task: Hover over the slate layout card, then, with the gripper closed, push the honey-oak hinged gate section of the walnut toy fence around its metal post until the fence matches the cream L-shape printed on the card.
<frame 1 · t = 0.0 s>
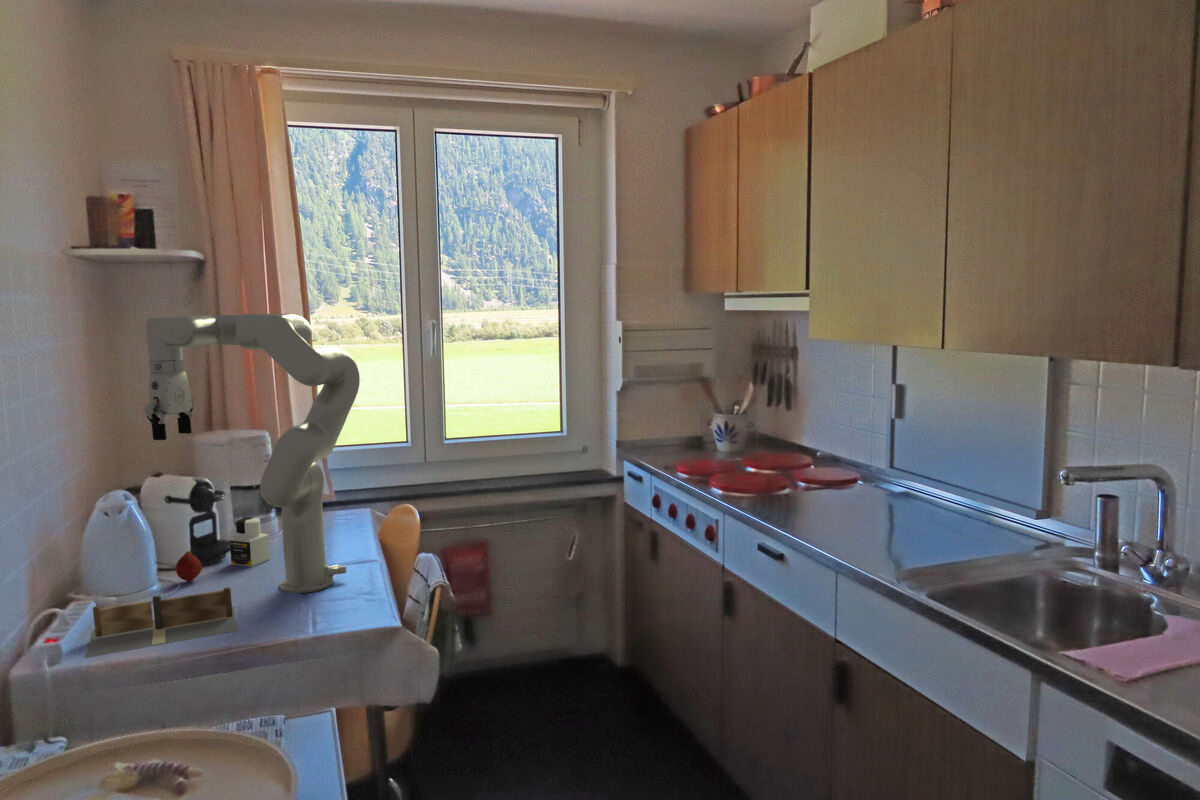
hand: (172, 436, 209), 37 cm above the table, tool pointing down, fingers open, 9 cm apart
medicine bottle: (251, 562, 229), on the table
fence gate: (123, 617, 179), point 4 cm above the table, hinge at 0.0°
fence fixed: (195, 621, 186), resting on layout card
layout card: (164, 632, 181), on the table
onion: (190, 582, 214), on the table
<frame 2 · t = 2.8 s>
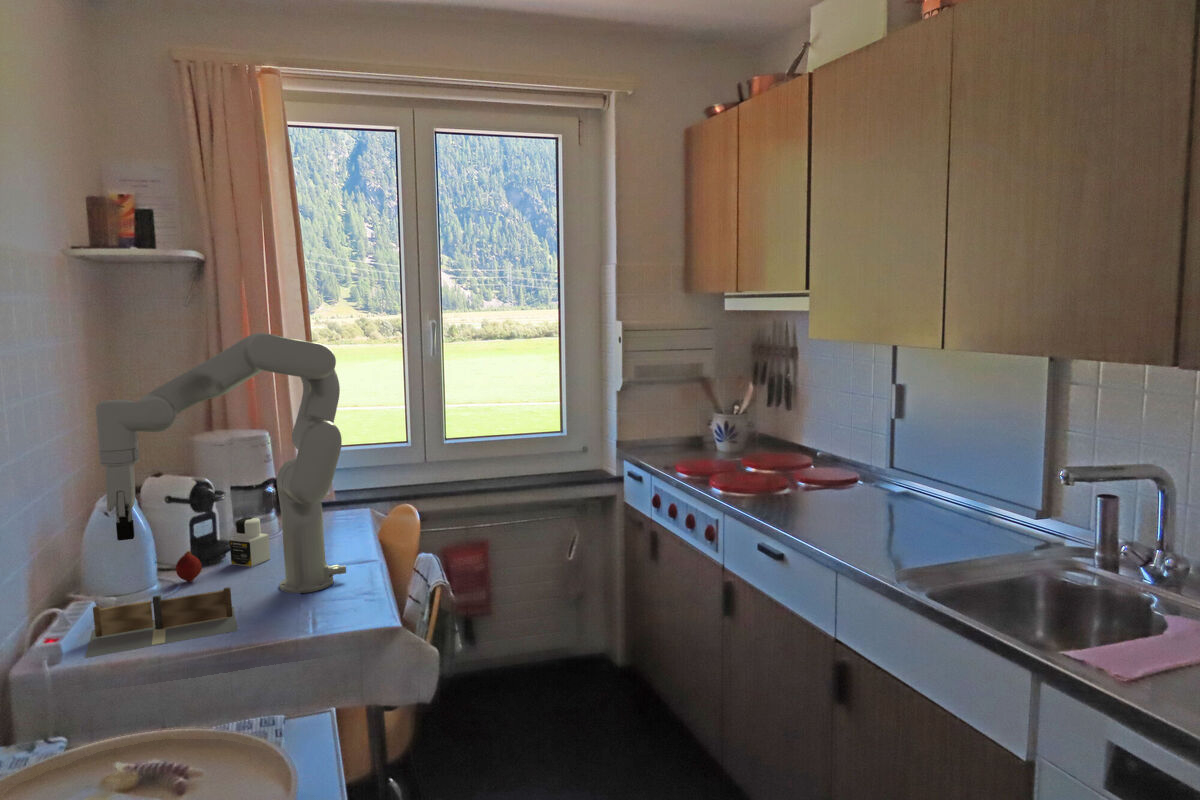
hand: (126, 538, 186), 19 cm above the table, tool pointing down, fingers closed
nothing on the table moved.
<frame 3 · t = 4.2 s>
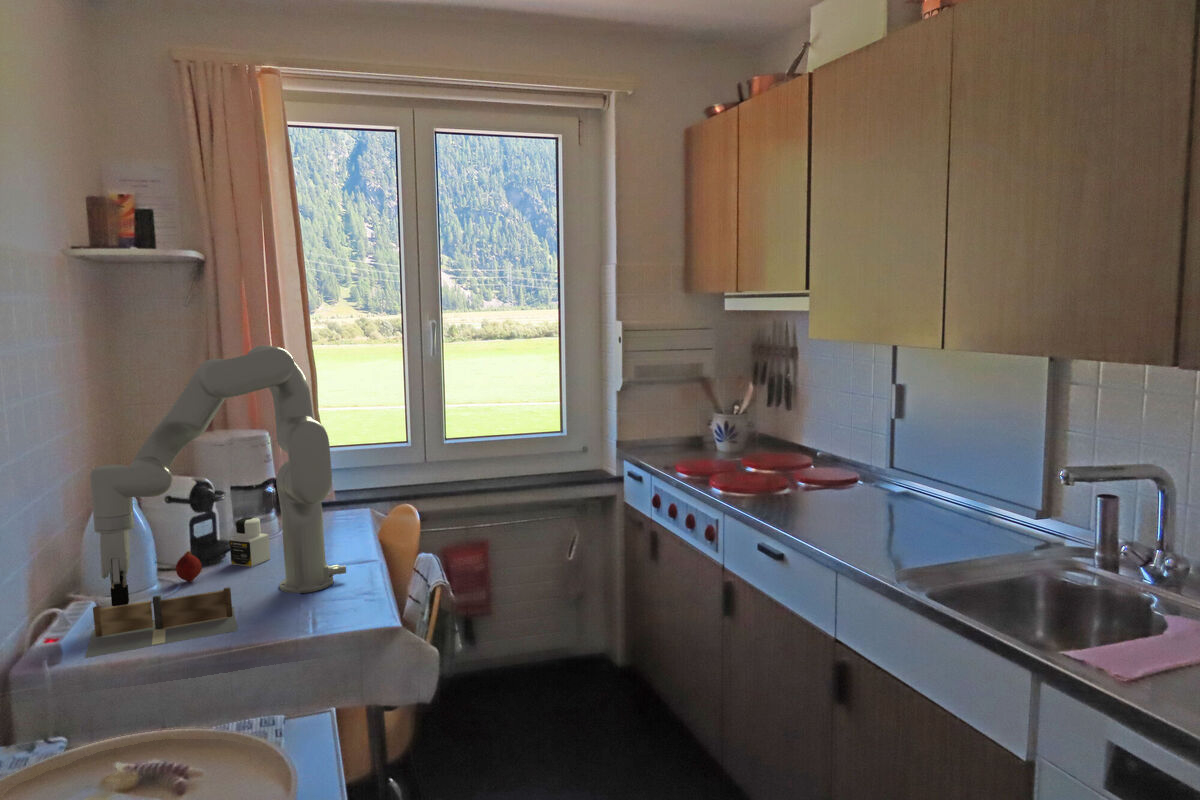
hand: (120, 604, 185), 5 cm above the table, tool pointing down, fingers closed
nothing on the table moved.
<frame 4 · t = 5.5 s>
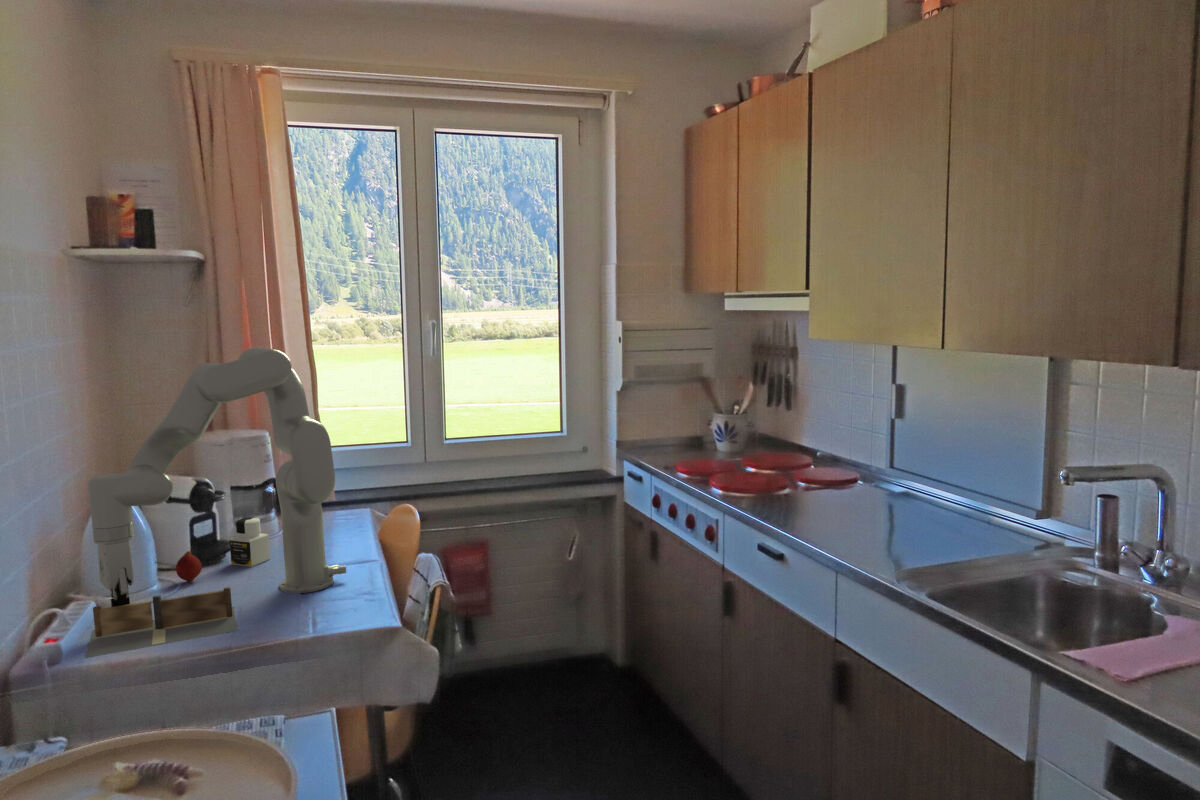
hand: (121, 615, 182), 4 cm above the table, tool pointing down, fingers closed
fence gate: (123, 617, 179), point 4 cm above the table, hinge at 0.0°, touching gripper
everything else where it was.
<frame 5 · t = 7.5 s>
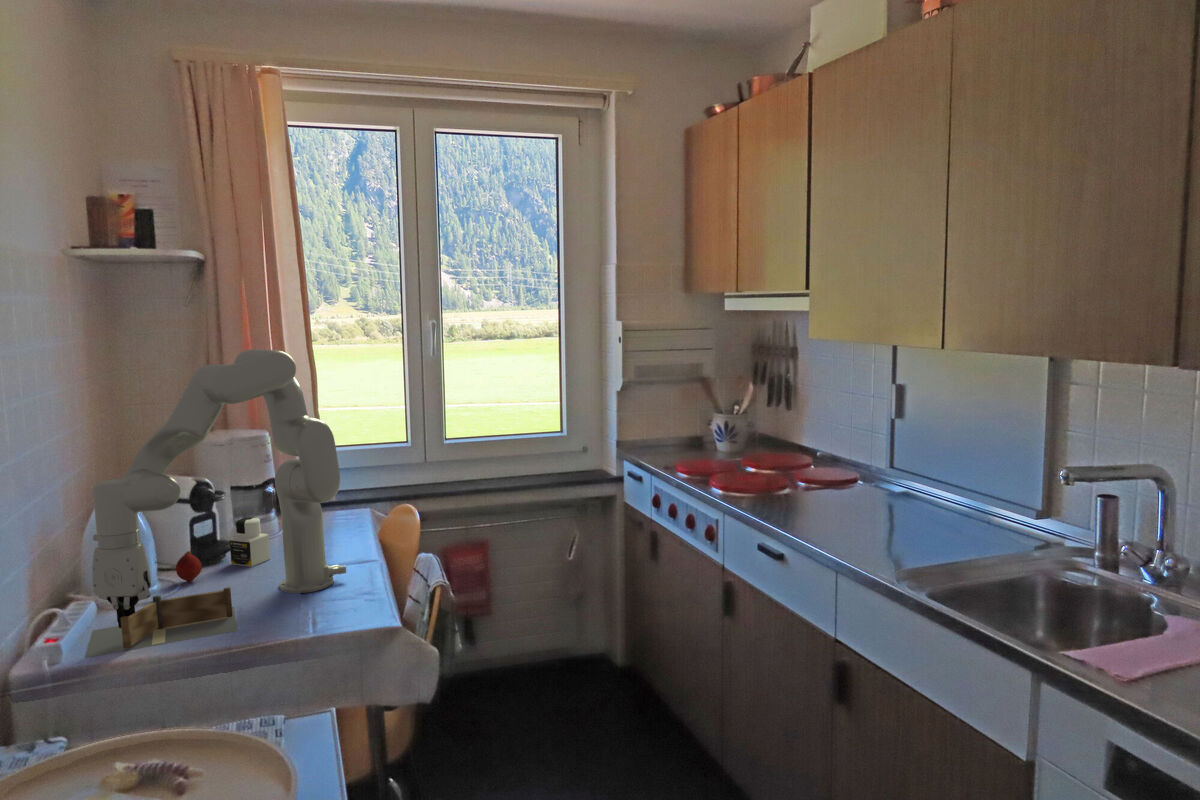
hand: (127, 625, 176), 4 cm above the table, tool pointing down, fingers closed
fence gate: (139, 623, 176), point 4 cm above the table, hinge at 60.3°, touching gripper
everything else where it was.
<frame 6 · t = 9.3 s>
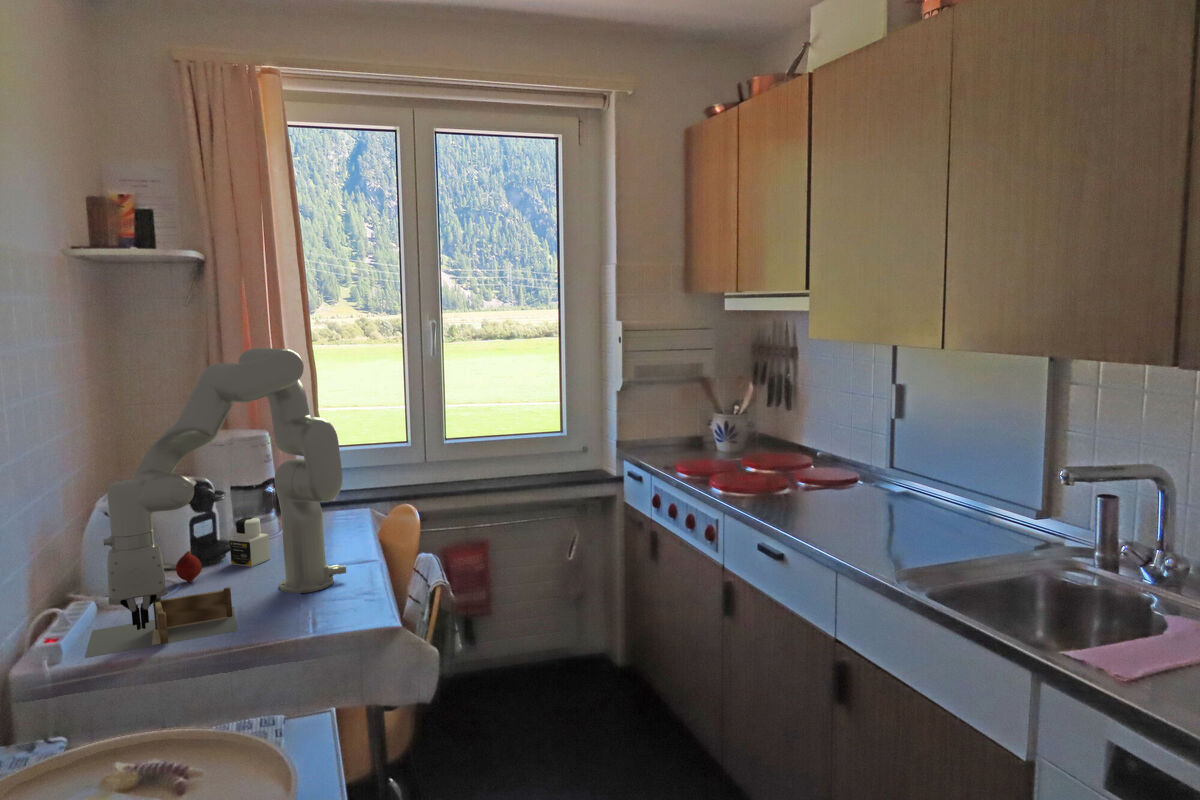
hand: (141, 627, 174), 4 cm above the table, tool pointing down, fingers closed
fence gate: (161, 621, 177), point 4 cm above the table, hinge at 96.2°
everything else where it was.
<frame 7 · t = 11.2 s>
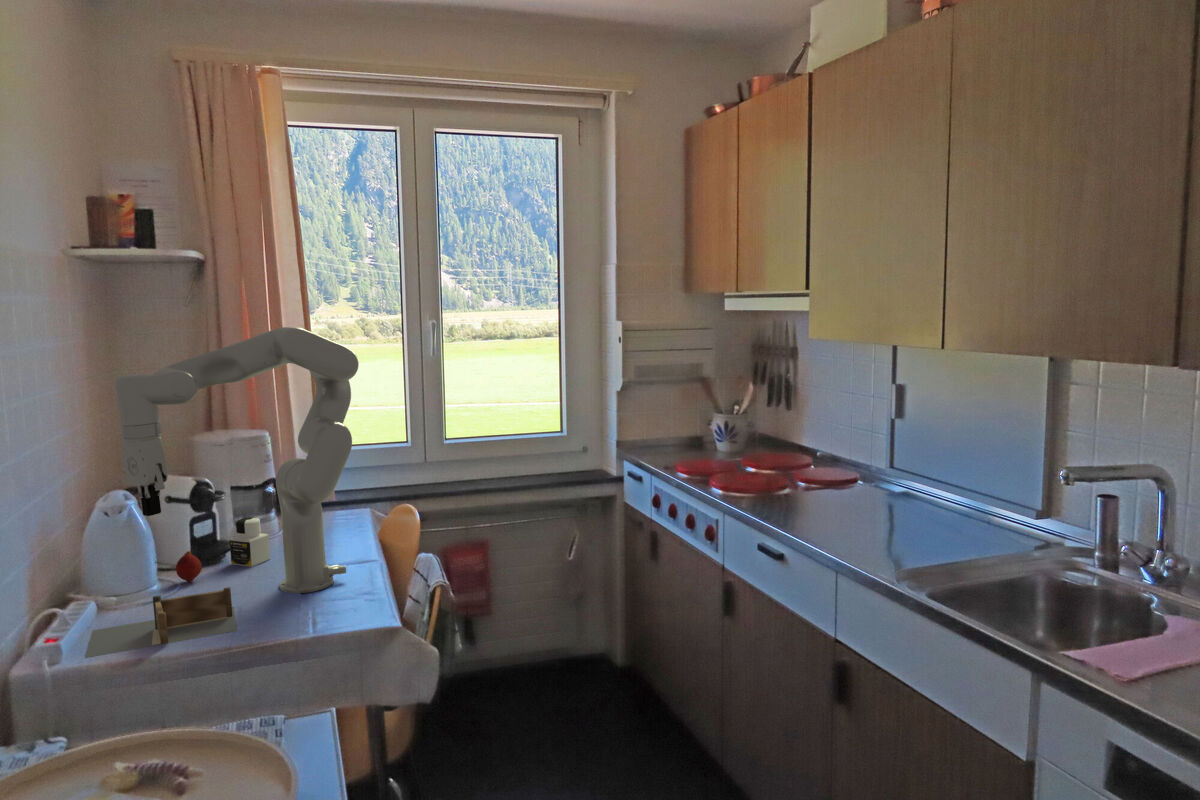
hand: (152, 514, 184), 24 cm above the table, tool pointing down, fingers closed
nothing on the table moved.
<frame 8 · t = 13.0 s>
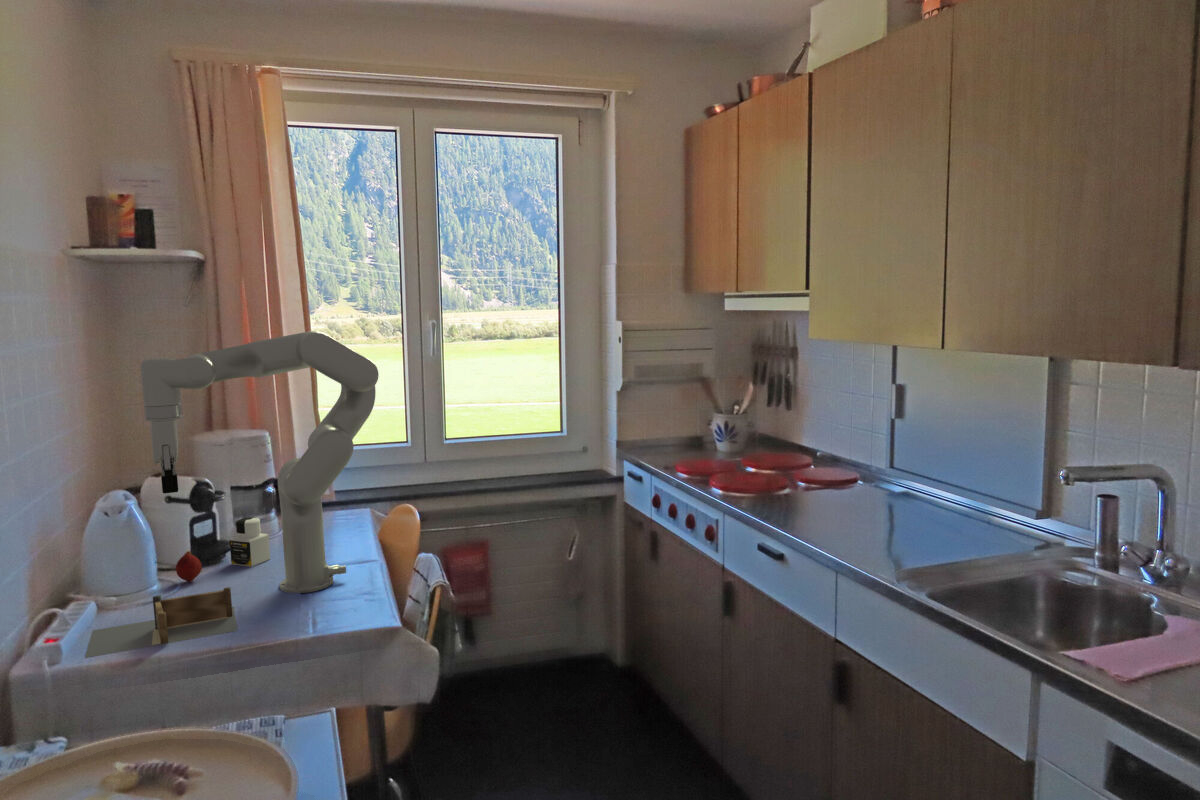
hand: (170, 491, 193), 27 cm above the table, tool pointing down, fingers closed
nothing on the table moved.
at the end: fence gate at +96° (first picture: +0°) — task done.
